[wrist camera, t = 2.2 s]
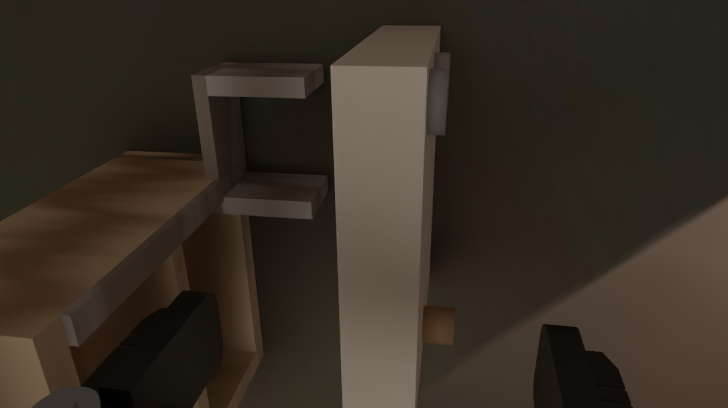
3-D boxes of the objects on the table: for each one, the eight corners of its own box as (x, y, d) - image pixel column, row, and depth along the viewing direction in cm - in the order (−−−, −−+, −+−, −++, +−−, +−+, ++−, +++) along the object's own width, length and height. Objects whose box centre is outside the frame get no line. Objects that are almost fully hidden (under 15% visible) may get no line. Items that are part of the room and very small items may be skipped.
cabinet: (166, 344, 31) (-30, 598, 19) (109, 60, 25) (-253, 158, 12) (335, 362, 30) (245, 650, 17) (323, 63, 23) (162, 179, 11)
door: (382, 25, 22) (330, 65, 13) (470, 25, 22) (477, 67, 13) (382, 272, 27) (343, 424, 18) (453, 278, 27) (450, 437, 18)
